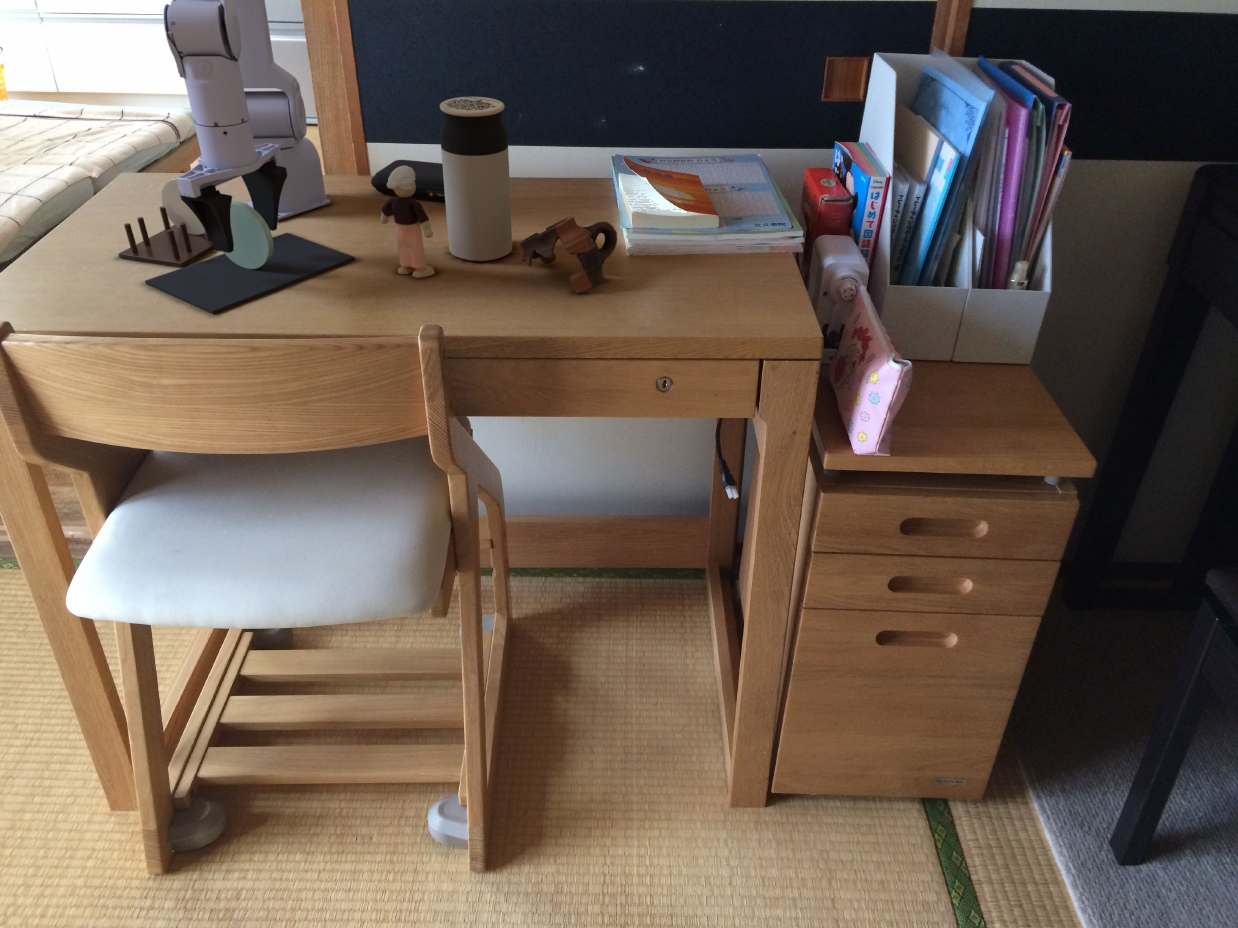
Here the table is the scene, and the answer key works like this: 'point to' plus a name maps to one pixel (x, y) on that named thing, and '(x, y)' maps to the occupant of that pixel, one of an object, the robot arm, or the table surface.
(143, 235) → the plate rack
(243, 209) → the pale green plate
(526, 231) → the table surface
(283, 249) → the charcoal mat
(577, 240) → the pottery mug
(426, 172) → the carrying case
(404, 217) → the grandmother figurine
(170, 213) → the cream saucer
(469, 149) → the travel mug
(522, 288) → the table surface
